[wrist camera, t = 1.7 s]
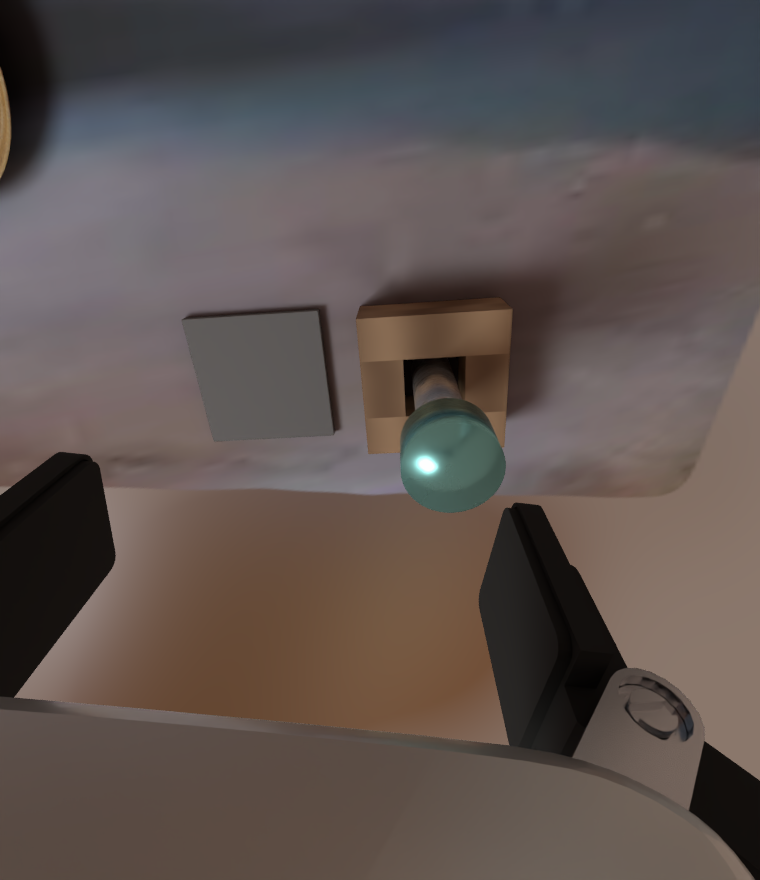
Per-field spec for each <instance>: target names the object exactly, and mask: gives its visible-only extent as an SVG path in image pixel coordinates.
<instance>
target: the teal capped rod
mask: <svg viewBox="0 0 760 880" xmlns="http://www.w3.org/2000/svg"><path fill="white" fill-rule="evenodd" d="M411 374H412V384H413V393H414V403H415V411H414V412H413V413H412V414H411V415H410V416H409V417H408V419H407V420H406V422H405V424H404V426H403V428H402V431H401V436H400V460H401V478H402V481H403V484H404V487H405V489H406V490H407V492H408V493H409V495H410V496H411V497H412V498H413V499H414V500H415V501H417V502H418V503H419V504H421V505H422V506H425V507H427V508H429V509H431V510H435V511H439V512H447V513H454V512H462V511H466V510H469V509H472V508H475V507H477V506H479V505H481V504H482V503H484V502H485V501H487V500H488V499H489V498H490V497H491V496H493V495H494V493H495V492H496V491H497V490H498V488H499V487H500V485H501V483H502V481H503V478H504V475H505V469H506V461H505V456H504V453H503V450H502V448H501V445H500V443H499V441H498V439H497V436H496V434H495V432H494V429H493V427H492V425H491V422H490V421H489V419H488V417H487V416H486V414H485V413H484V412H483V411H482V410H481V409H480V408H478V407H477V406H476V405H474V404H472V403H470V402H468V401H465V400H462V397H461V394H460V391H459V388H458V386H457V383H456V380H455V377H454V374H453V371H452V368H451V365H450V362H449V360H448V358H447V357H442V358H425V359H414V360H413V362H412V365H411Z"/></svg>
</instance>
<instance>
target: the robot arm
mask: <svg viewBox="0 0 760 880" xmlns="http://www.w3.org/2000/svg"><path fill="white" fill-rule="evenodd" d="M115 556H116V555H115V548H114V543H113V538H112V532H111V527H110V521H109V515H108V510H107V505H106V499H105V494H104V488H103V483H102V478H101V472H100V468H99V465H98V464H97V463H96V462H93V461H92V459H91V457H90V456H88V455H84V454H75V453H66V452H58V453H57V454H55V455H53V456H52V457H51V458H49V459H48V460H47V461H45V462H44V463H43V464H41V465H40V466H39V467H37V468H36V469H35V470H33V471H32V472H31V473H29V474H28V475H27V476H25V477H24V478H23V479H21V480H20V481H19V482H17V483H16V484H15V485H13V486H12V487H11V488H9V489H8V490H7V491H6V492H4V493H3V494H1V495H0V880H760V781H759V780H758V779H757V778H755V777H754V776H752V775H751V774H750V773H748V772H747V771H746V770H744V769H742V768H741V767H740V766H739V765H737V764H736V763H734V762H733V761H731V760H730V759H729V758H727V757H726V756H725V755H723V754H722V753H720V752H719V751H718V750H716V749H715V748H713V747H712V746H711V745H709V744H708V743H706V742H705V741H704V740H705V737H704V736H705V733H704V725H703V723H702V720H701V717H700V715H699V713H698V711H697V710H696V708H695V707H694V706H693V704H692V703H691V701H690V700H689V699H688V698H687V697H686V696H685V695H684V694H683V693H682V692H681V691H680V690H679V689H678V688H677V687H675V686H674V685H672V684H671V683H670V682H668V681H667V680H666V679H664V678H662V677H660V676H658V675H656V674H654V673H652V672H649V671H646V670H642V669H638V668H627V666H626V664H625V662H624V660H623V658H622V656H621V654H620V652H619V650H618V648H617V646H616V644H615V642H614V640H613V638H612V636H611V635H610V633H609V630H608V628H607V626H606V625H605V623H604V621H603V619H602V617H601V615H600V613H599V611H598V609H597V607H596V605H595V603H594V601H593V599H592V597H591V595H590V593H589V591H588V589H587V587H586V585H585V583H584V581H583V579H582V577H581V575H580V574H579V572H578V570H577V569H576V568H575V567H574V566H572V565H570V564H569V562H568V559H567V557H566V555H565V553H564V551H563V549H562V547H561V545H560V543H559V541H558V539H557V537H556V536H555V533H554V531H553V529H552V527H551V525H550V523H549V521H548V519H547V517H546V515H545V513H544V511H543V509H542V508H541V506H539V505H532V504H524V503H514V504H513V506H512V508H505V510H504V511H503V514H502V518H501V521H500V524H499V528H498V531H497V535H496V538H495V542H494V545H493V548H492V552H491V555H490V559H489V562H488V565H487V569H486V572H485V575H484V579H483V582H482V585H481V589H480V593H479V608H480V613H481V618H482V622H483V627H484V631H485V636H486V640H487V645H488V650H489V654H490V659H491V663H492V668H493V672H494V677H495V682H496V686H497V690H498V695H499V700H500V705H501V709H502V714H503V718H504V723H505V727H506V731H507V737H508V741H509V745H510V746H509V745H500V744H491V743H483V742H473V741H466V740H457V739H448V738H439V737H430V736H422V735H412V734H401V733H391V732H380V731H370V730H360V729H351V728H340V727H330V726H320V725H310V724H300V723H289V722H278V721H267V720H256V719H246V718H236V717H225V716H214V715H203V714H193V713H182V712H171V711H159V710H149V709H138V708H127V707H115V706H104V705H92V704H81V703H69V702H57V701H46V700H35V699H23V698H14V697H15V695H16V694H17V693H18V691H19V690H20V689H21V688H22V686H23V685H24V683H25V682H26V681H27V680H28V678H29V677H30V676H31V674H32V673H33V672H34V670H35V669H36V668H37V666H38V665H39V664H40V663H41V661H42V660H43V659H44V657H45V656H46V655H47V653H48V652H49V651H50V649H51V648H52V647H53V645H54V644H55V643H56V642H57V640H58V639H59V638H60V636H61V635H62V634H63V632H64V631H65V630H66V628H67V627H68V626H69V624H70V623H71V622H72V620H73V619H74V618H75V617H76V615H77V614H78V613H79V611H80V610H81V609H82V607H83V606H84V605H85V603H86V602H87V601H88V599H89V598H90V597H91V596H92V594H93V593H94V592H95V590H96V589H97V588H98V586H99V585H100V583H101V582H102V581H103V580H104V578H105V577H106V576H107V575H108V573H109V572H110V570H111V569H112V567H113V565H114V561H115Z"/></svg>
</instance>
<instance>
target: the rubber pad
mask: <svg viewBox="0 0 760 880" xmlns="http://www.w3.org/2000/svg"><path fill="white" fill-rule="evenodd" d="M182 324H183V327H184V331H185V335H186V339H187V343H188V346H189V350H190V354H191V358H192V361H193V365H194V369H195V373H196V376H197V380H198V384H199V388H200V391H201V395H202V399H203V403H204V407H205V410H206V414H207V418H208V422H209V425H210V429H211V433H212V437H213V440H214V441H233V440H252V439H272V438H291V437H311V436H331V435H334V433H335V431H334V423H333V415H332V408H331V400H330V392H329V384H328V377H327V369H326V361H325V353H324V345H323V338H322V330H321V322H320V314H319V309H313V310H298V311H283V312H268V313H253V314H238V315H223V316H207V317H192V318H184V319H182Z"/></svg>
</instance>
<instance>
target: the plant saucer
mask: <svg viewBox="0 0 760 880" xmlns="http://www.w3.org/2000/svg"><path fill="white" fill-rule="evenodd" d="M11 130H12V123H11V111H10V103H9V98H8V93H7V88H6V84H5V80H4V77H3V73H2V70H1V67H0V179H1V177H2V175H3V173H4V170H5V167H6V164H7V160H8V156H9V151H10V144H11Z"/></svg>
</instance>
